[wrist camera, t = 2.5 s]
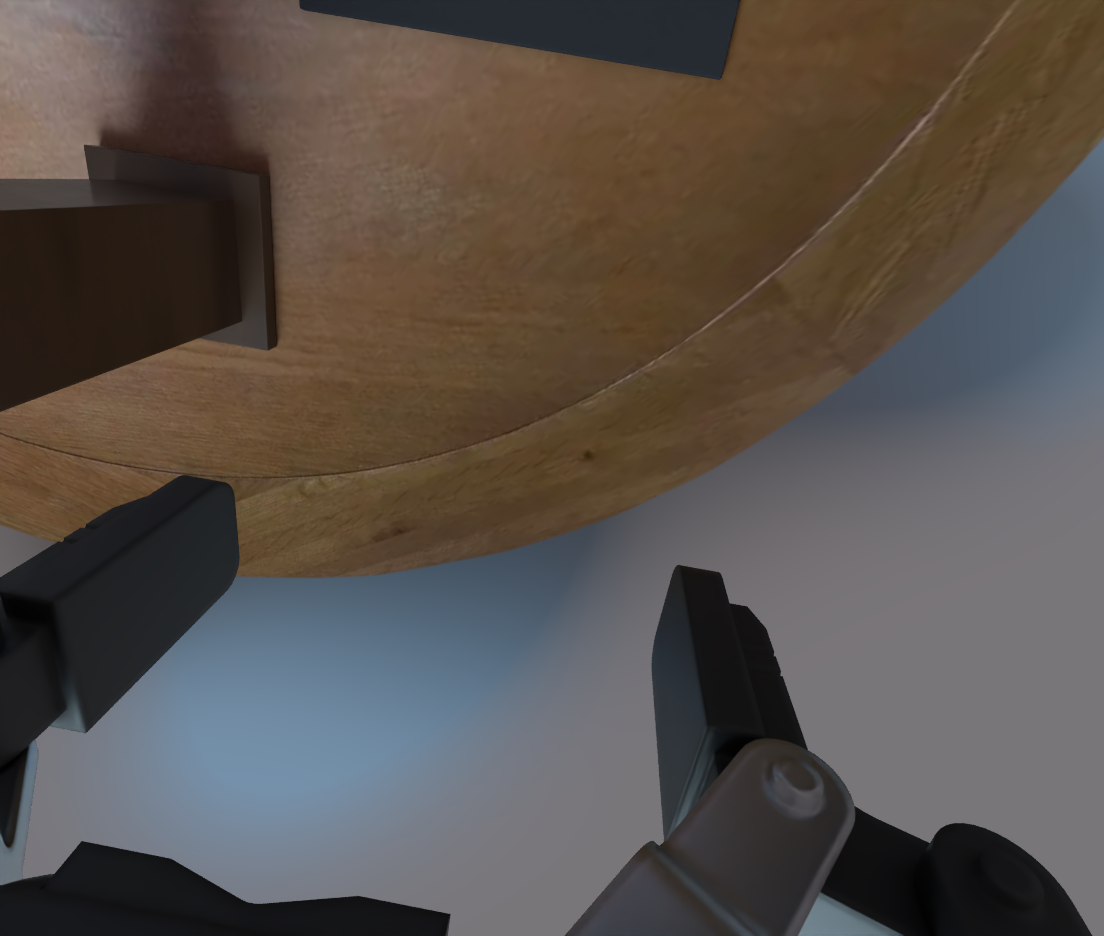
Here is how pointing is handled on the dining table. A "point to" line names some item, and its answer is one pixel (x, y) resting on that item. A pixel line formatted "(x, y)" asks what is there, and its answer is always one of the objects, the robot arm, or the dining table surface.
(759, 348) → the dining table surface
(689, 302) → the dining table surface
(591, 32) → the mat
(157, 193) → the stand
